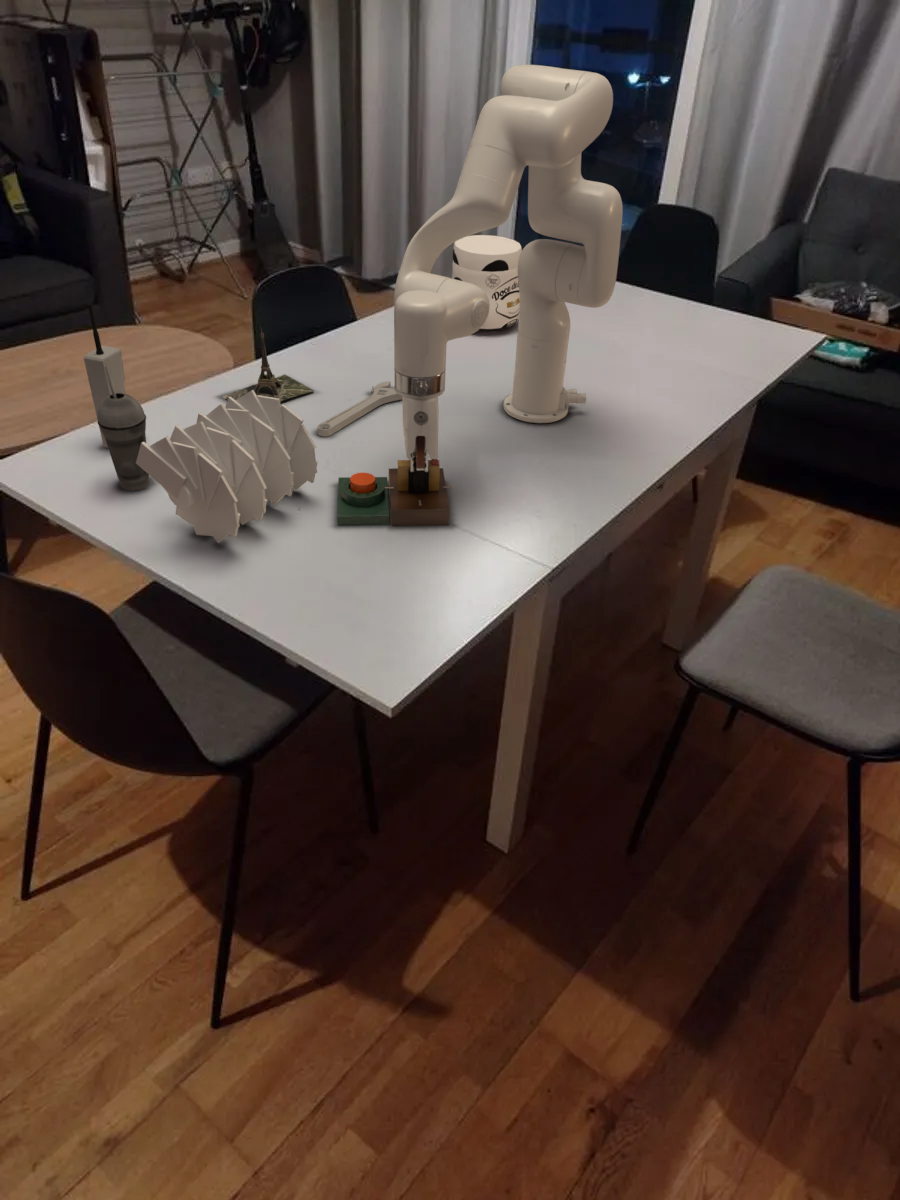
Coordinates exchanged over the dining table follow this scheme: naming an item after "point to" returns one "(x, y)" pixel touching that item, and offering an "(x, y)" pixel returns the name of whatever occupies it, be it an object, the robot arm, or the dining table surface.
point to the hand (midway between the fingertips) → (417, 487)
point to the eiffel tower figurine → (272, 383)
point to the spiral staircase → (232, 463)
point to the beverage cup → (124, 436)
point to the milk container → (491, 275)
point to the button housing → (363, 504)
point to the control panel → (418, 504)
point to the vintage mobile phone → (103, 370)
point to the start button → (362, 483)
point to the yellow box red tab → (405, 466)
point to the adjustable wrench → (359, 409)
